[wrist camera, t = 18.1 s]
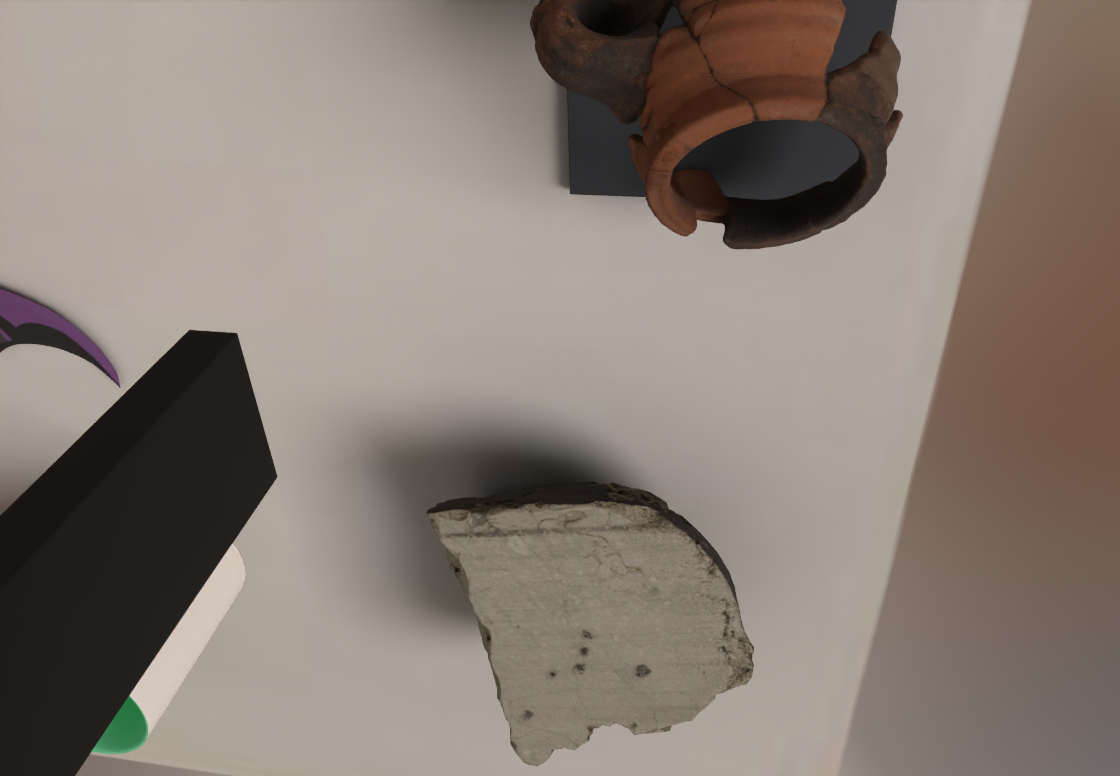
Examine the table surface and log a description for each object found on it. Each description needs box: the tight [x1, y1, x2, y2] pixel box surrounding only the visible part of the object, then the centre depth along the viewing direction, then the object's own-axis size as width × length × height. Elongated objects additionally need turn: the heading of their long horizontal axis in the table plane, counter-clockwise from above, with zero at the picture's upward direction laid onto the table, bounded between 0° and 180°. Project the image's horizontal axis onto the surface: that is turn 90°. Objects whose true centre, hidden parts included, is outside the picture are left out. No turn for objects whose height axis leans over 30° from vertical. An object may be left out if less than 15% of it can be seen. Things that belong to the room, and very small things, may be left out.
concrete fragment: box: [426, 482, 754, 766], centre depth 42 cm, size 15×10×15 cm
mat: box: [567, 0, 897, 200], centre depth 31 cm, size 11×11×1 cm
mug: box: [92, 543, 246, 754], centre depth 47 cm, size 12×8×10 cm, turn 178°
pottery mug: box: [530, 0, 903, 249], centre depth 29 cm, size 12×10×8 cm
